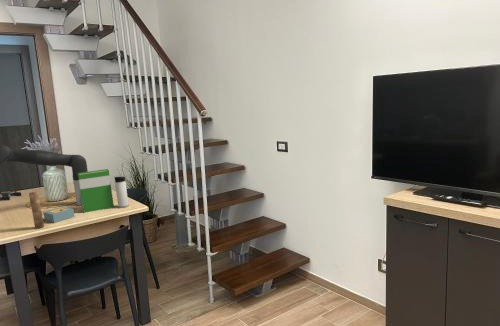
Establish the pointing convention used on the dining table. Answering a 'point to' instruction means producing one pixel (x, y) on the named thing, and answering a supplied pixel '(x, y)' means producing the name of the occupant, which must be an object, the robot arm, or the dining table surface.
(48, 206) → the dining table surface
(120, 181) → the travel mug
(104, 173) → the hardback book
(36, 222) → the peg
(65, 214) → the socket block
